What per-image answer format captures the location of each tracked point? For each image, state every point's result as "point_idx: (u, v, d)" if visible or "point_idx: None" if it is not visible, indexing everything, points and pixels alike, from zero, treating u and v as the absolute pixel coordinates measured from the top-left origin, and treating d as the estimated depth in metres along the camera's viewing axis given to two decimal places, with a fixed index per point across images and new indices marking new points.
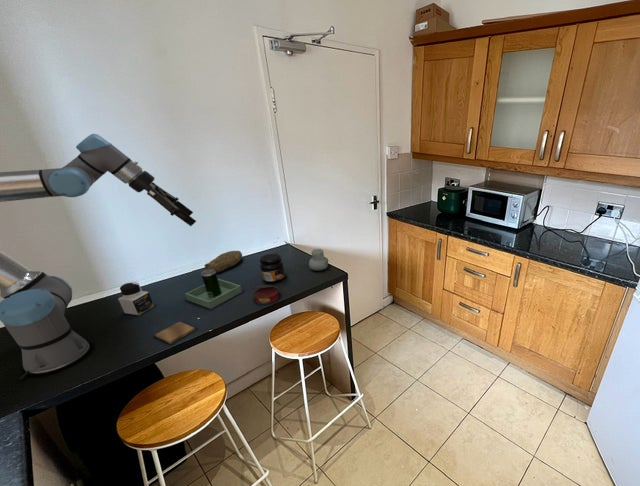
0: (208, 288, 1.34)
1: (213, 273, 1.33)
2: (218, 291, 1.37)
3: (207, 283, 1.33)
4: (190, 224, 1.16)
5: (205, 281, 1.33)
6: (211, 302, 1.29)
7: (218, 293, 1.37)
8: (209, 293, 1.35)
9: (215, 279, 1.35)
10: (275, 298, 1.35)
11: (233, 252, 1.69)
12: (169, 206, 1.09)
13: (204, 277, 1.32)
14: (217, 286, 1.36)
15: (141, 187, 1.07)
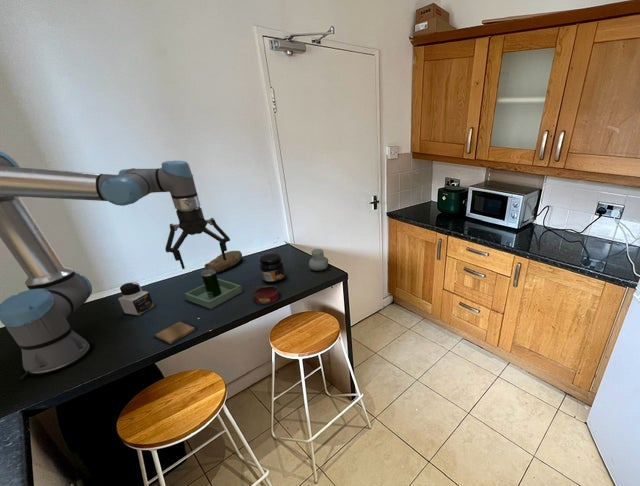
0: (208, 288, 1.34)
1: (213, 273, 1.33)
2: (218, 291, 1.37)
3: (207, 283, 1.33)
4: None
5: (205, 281, 1.33)
6: (211, 302, 1.29)
7: (218, 293, 1.37)
8: (209, 293, 1.35)
9: (215, 279, 1.35)
10: (275, 298, 1.35)
11: (233, 252, 1.69)
12: (166, 245, 1.08)
13: (204, 277, 1.32)
14: (217, 286, 1.36)
15: None
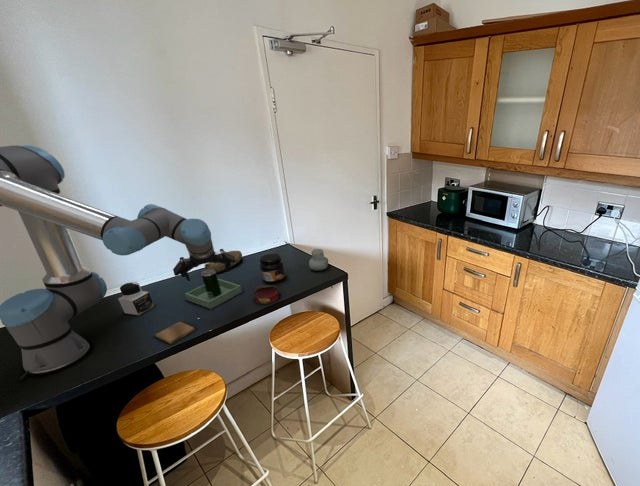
0: (208, 288, 1.34)
1: (213, 273, 1.33)
2: (218, 291, 1.37)
3: (207, 283, 1.33)
4: None
5: (205, 281, 1.33)
6: (211, 302, 1.29)
7: (218, 293, 1.37)
8: (209, 293, 1.35)
9: (215, 279, 1.35)
10: (275, 298, 1.35)
11: (233, 252, 1.69)
12: (175, 270, 1.11)
13: (204, 277, 1.32)
14: (217, 286, 1.36)
15: None
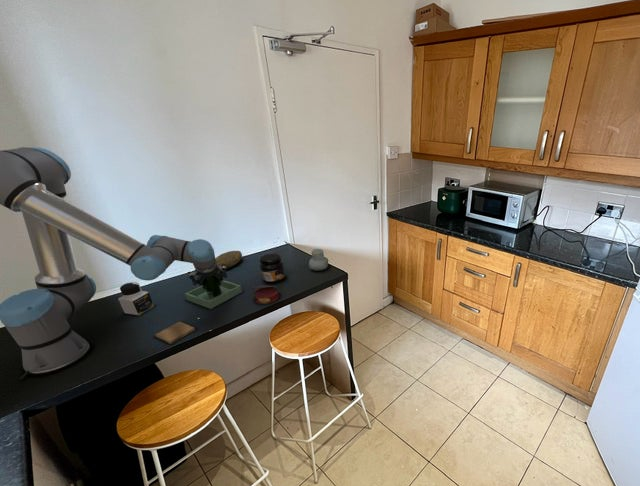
0: (208, 288, 1.34)
1: None
2: (218, 291, 1.37)
3: (207, 283, 1.33)
4: None
5: (205, 281, 1.33)
6: (211, 302, 1.29)
7: (218, 293, 1.37)
8: (209, 293, 1.35)
9: (215, 279, 1.35)
10: (275, 298, 1.35)
11: (233, 252, 1.69)
12: (192, 281, 1.29)
13: None
14: (217, 286, 1.36)
15: None
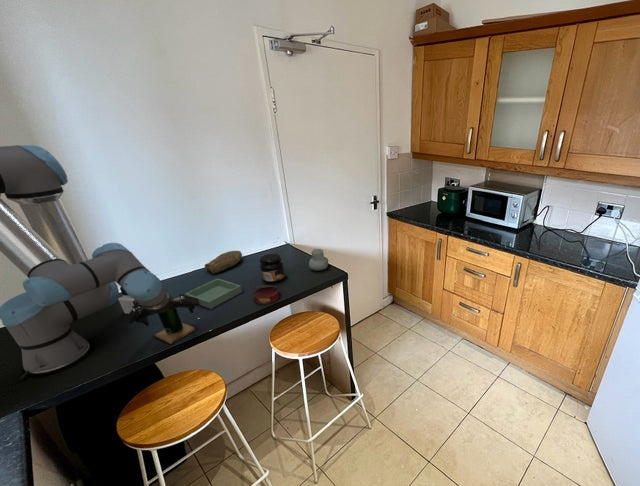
0: (165, 324, 1.10)
1: None
2: (178, 327, 1.13)
3: (163, 318, 1.09)
4: None
5: (161, 316, 1.09)
6: (211, 302, 1.29)
7: (178, 329, 1.13)
8: (166, 329, 1.11)
9: (174, 313, 1.11)
10: (275, 298, 1.35)
11: (233, 252, 1.69)
12: (129, 318, 1.01)
13: None
14: (177, 321, 1.12)
15: None
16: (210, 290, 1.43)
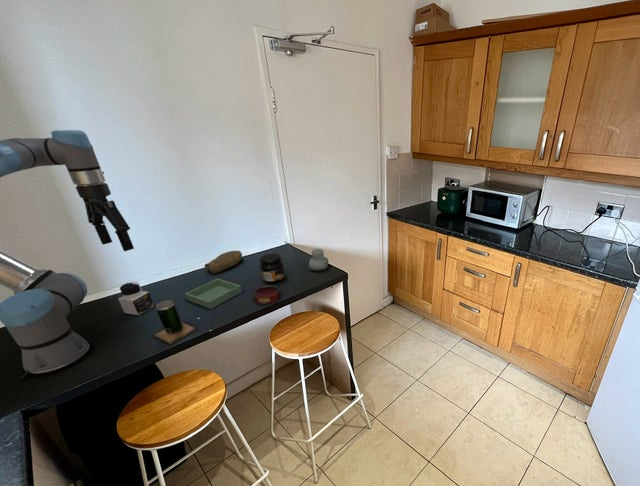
0: (165, 324, 1.10)
1: (171, 306, 1.09)
2: (178, 327, 1.13)
3: (163, 318, 1.09)
4: (126, 249, 1.04)
5: (161, 316, 1.09)
6: (211, 302, 1.29)
7: (178, 329, 1.13)
8: (166, 329, 1.11)
9: (174, 313, 1.11)
10: (275, 298, 1.35)
11: (233, 252, 1.69)
12: (122, 223, 1.00)
13: (159, 311, 1.08)
14: (177, 321, 1.12)
15: (96, 195, 0.97)
16: (210, 290, 1.43)
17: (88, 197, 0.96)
